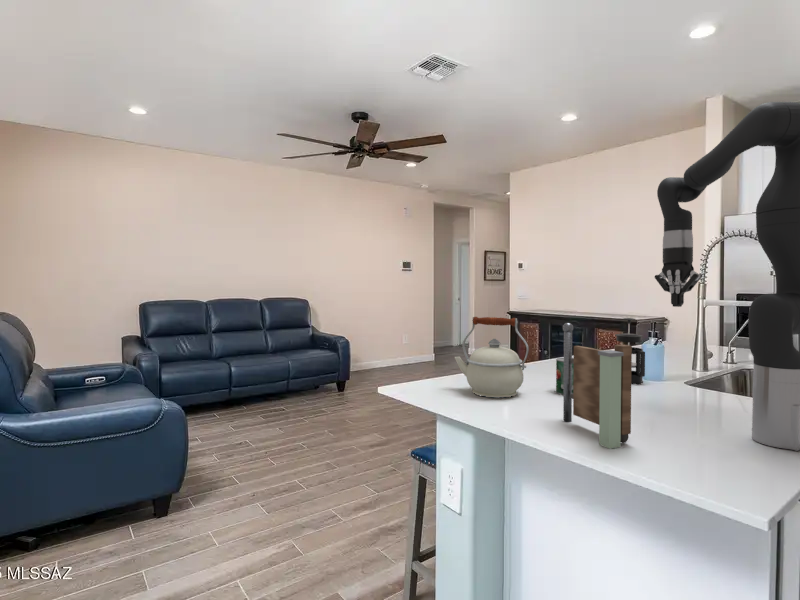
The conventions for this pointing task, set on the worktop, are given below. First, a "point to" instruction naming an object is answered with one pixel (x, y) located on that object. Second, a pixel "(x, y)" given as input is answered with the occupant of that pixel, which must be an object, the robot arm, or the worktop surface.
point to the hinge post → (567, 372)
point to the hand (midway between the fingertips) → (677, 306)
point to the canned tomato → (561, 376)
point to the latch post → (610, 398)
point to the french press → (627, 337)
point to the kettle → (493, 364)
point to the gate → (589, 386)
